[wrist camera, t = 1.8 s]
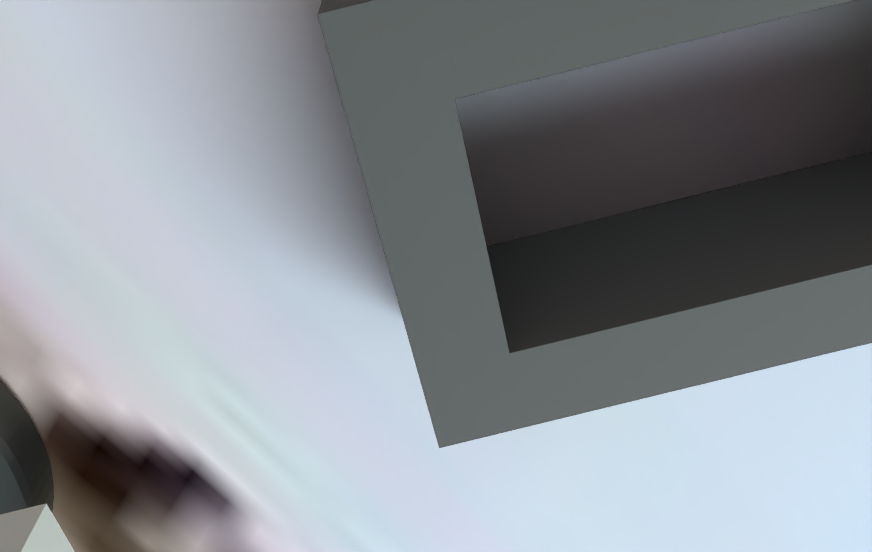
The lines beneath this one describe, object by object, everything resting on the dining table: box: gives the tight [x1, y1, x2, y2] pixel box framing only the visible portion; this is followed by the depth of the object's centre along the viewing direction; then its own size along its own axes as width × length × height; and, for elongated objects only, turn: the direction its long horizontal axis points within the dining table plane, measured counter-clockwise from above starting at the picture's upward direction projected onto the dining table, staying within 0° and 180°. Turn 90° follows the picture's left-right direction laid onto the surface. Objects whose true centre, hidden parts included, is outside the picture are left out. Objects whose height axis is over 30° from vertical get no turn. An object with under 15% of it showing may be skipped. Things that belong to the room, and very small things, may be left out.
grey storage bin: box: [318, 0, 872, 448], centre depth 22 cm, size 20×12×7 cm, turn 103°
